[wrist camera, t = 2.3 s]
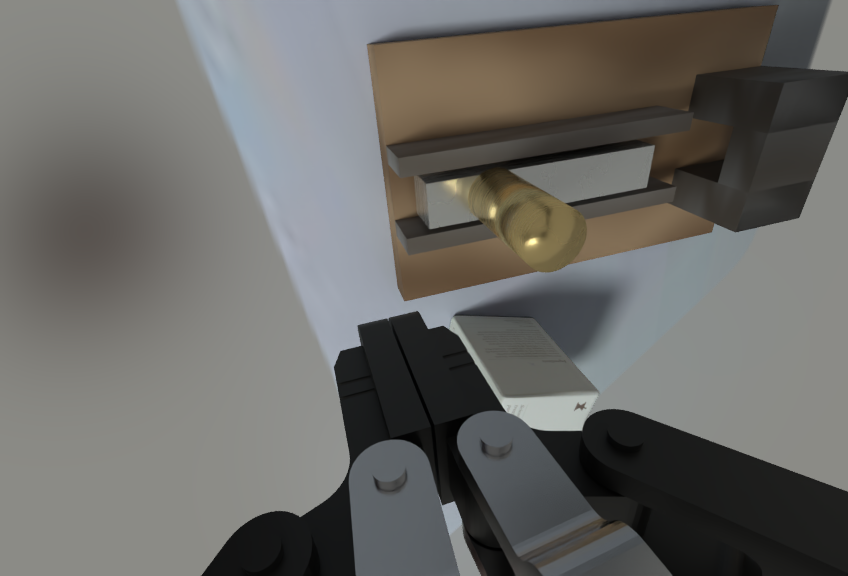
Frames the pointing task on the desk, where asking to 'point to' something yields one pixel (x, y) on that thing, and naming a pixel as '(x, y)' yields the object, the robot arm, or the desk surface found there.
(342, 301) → the desk surface
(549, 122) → the plate
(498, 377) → the skincare box
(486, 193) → the slide latch
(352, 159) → the desk surface
